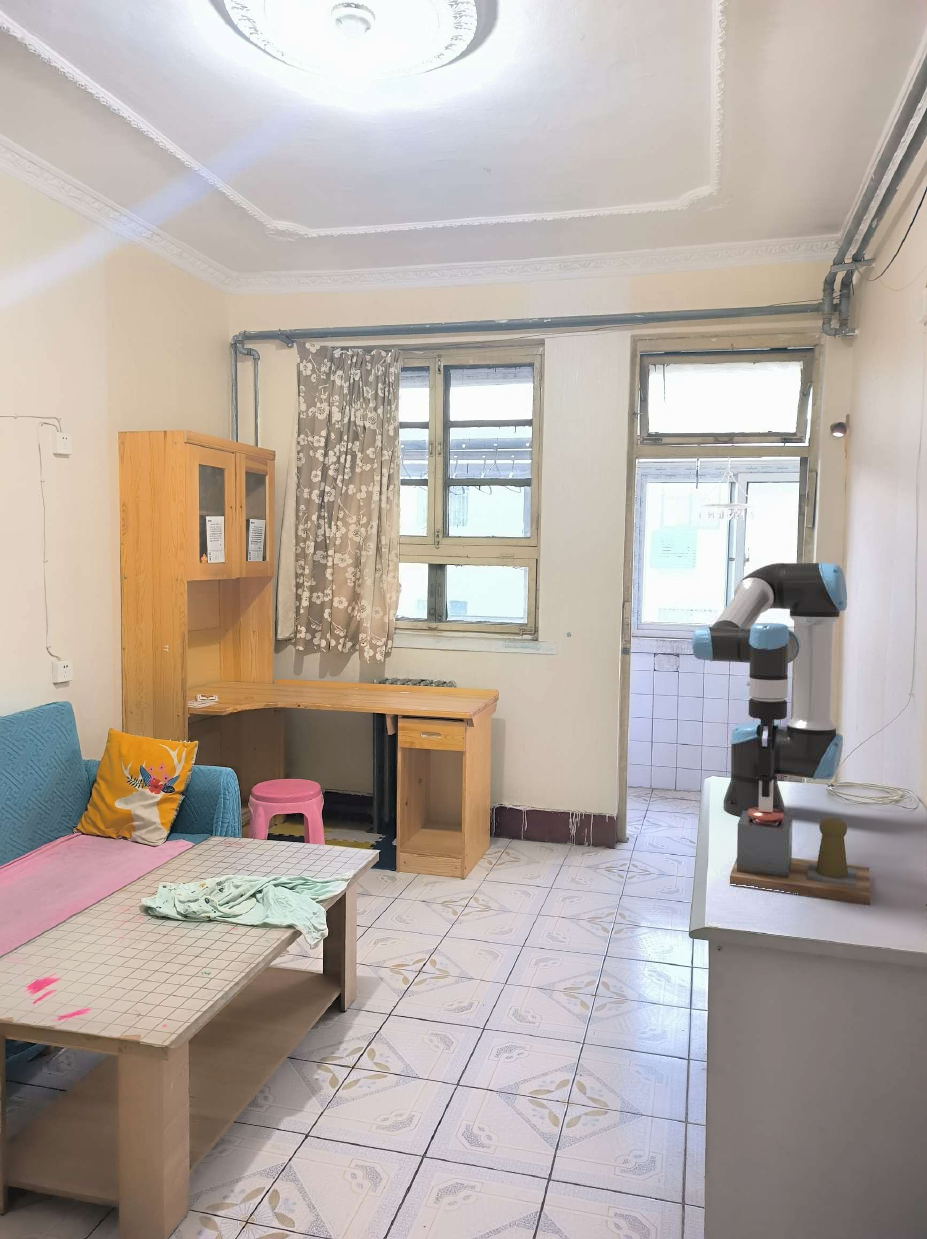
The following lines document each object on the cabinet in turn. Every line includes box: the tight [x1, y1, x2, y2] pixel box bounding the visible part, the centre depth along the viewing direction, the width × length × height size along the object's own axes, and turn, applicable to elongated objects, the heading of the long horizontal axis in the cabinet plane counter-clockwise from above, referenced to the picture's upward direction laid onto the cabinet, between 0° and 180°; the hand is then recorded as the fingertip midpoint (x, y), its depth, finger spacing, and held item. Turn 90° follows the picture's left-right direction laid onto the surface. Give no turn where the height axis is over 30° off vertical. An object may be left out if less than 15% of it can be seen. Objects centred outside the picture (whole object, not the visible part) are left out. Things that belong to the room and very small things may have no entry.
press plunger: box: [748, 807, 785, 826], centre depth 184 cm, size 7×7×9 cm
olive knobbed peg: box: [816, 817, 848, 878], centre depth 179 cm, size 6×6×11 cm
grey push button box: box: [736, 811, 794, 878], centre depth 184 cm, size 10×10×10 cm
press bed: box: [729, 857, 872, 906], centre depth 181 cm, size 16×26×3 cm, turn 66°
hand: (765, 810), depth 183 cm, fingers closed
